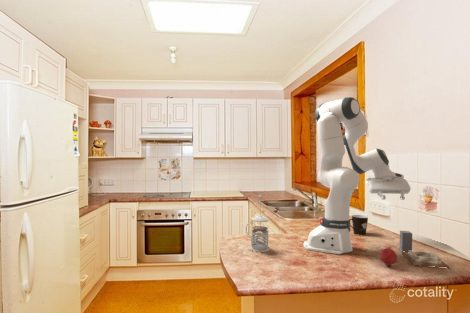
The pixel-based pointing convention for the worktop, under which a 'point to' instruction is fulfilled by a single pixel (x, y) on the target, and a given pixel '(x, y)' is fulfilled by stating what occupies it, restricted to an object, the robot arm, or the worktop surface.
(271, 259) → the worktop surface
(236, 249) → the worktop surface
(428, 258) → the socket board
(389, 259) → the onion
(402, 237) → the plug
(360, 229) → the coffee mug
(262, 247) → the french press
